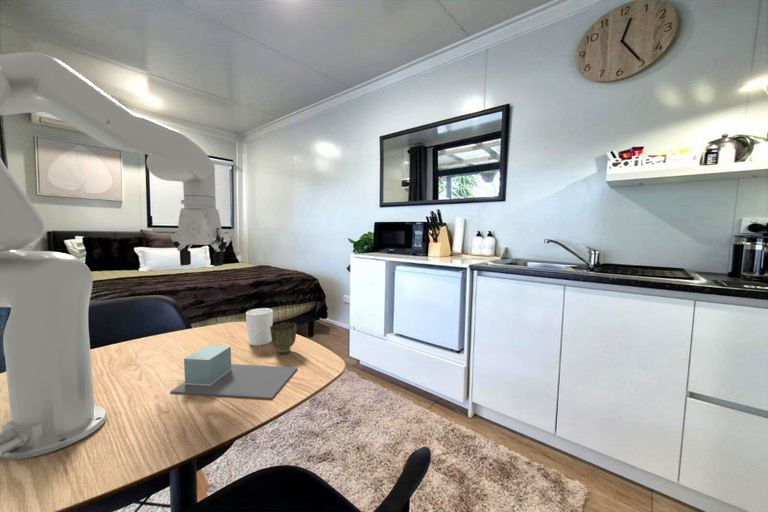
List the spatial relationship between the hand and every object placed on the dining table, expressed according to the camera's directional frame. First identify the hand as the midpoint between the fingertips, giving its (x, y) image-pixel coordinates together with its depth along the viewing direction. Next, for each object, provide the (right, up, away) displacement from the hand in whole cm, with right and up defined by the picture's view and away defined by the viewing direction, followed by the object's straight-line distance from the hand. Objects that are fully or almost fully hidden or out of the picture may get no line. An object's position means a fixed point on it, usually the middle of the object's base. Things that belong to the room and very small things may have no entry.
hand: (201, 265), depth 83 cm
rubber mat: (+17, -27, -13) cm, 34 cm away
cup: (+22, -26, +4) cm, 34 cm away
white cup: (+12, -25, +12) cm, 30 cm away
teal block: (+9, -26, -12) cm, 30 cm away
